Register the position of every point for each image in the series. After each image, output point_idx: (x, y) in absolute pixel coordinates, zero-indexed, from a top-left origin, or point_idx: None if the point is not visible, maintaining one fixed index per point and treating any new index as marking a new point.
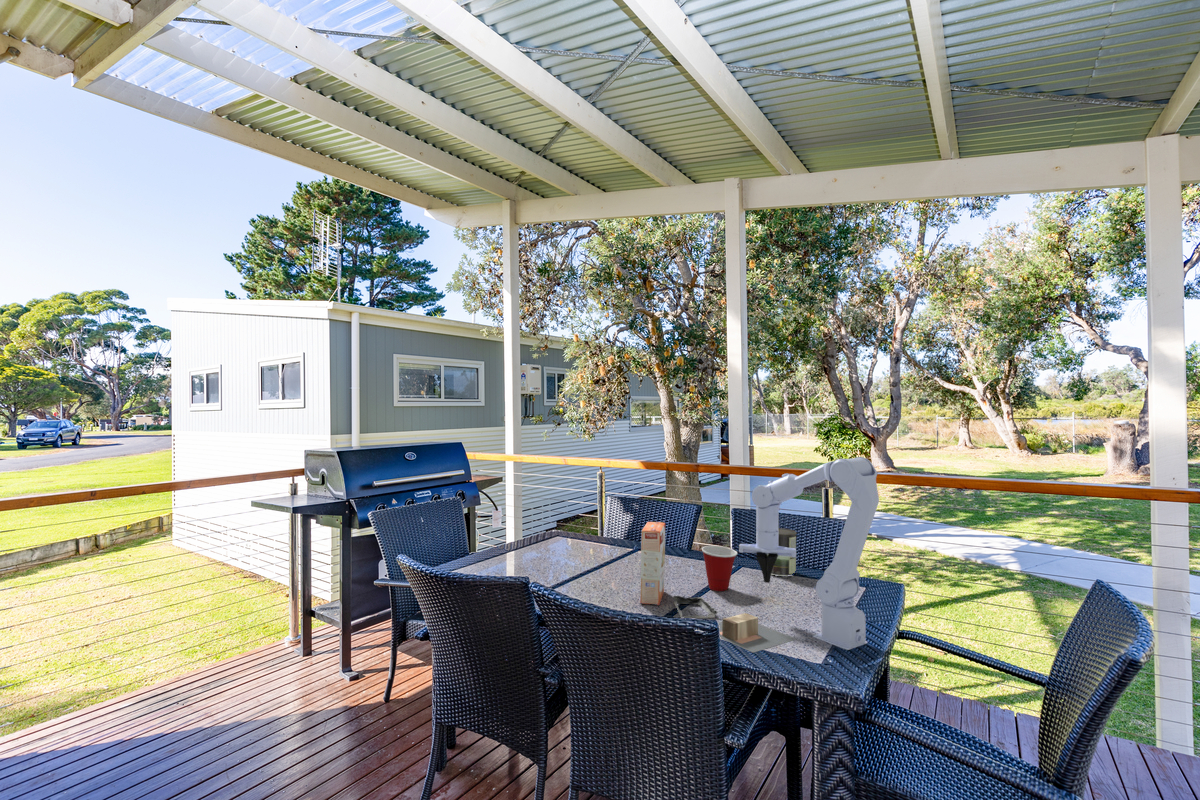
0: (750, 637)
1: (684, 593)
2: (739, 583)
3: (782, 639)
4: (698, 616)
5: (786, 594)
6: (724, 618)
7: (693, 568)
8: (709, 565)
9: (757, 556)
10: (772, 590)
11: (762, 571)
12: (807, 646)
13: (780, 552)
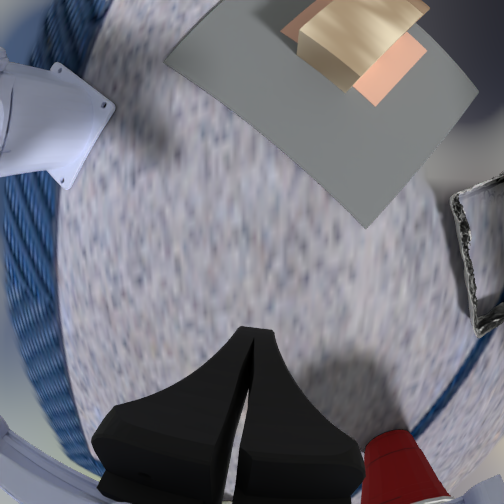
0: None
1: (477, 385)
2: None
3: (209, 39)
4: (493, 178)
5: None
6: (425, 10)
7: None
8: (433, 475)
9: (348, 482)
10: None
11: (284, 369)
12: (140, 39)
13: (27, 471)
